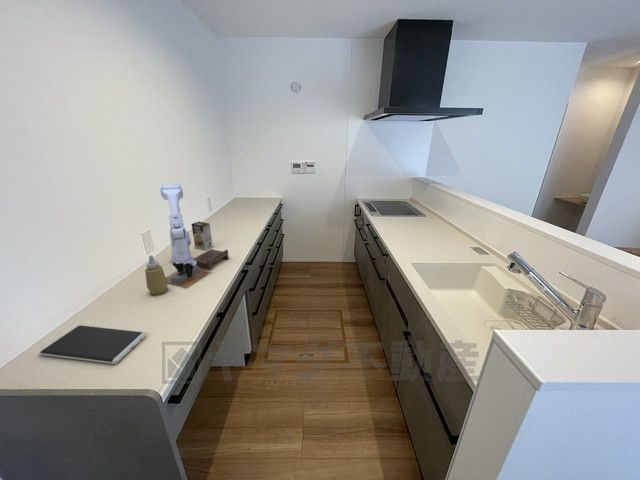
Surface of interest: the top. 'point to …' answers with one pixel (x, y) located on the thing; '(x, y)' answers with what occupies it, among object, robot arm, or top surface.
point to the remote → (183, 275)
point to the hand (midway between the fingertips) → (186, 275)
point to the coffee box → (202, 235)
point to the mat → (188, 279)
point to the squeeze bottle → (155, 277)
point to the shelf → (210, 258)
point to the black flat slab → (94, 344)
